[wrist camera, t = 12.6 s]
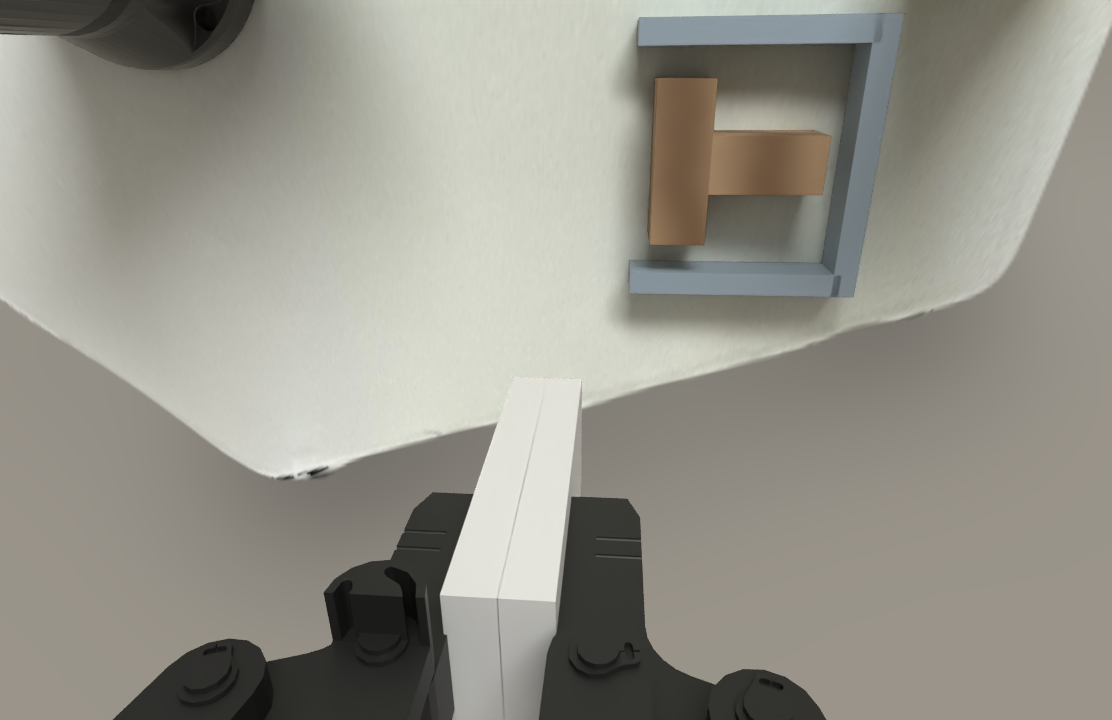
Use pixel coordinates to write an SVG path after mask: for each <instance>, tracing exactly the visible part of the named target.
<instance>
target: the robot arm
mask: <svg viewBox="0 0 1112 720" xmlns="http://www.w3.org/2000/svg"><path fill="white" fill-rule="evenodd" d="M253 1H254V0H0V34H12V35H54V36H59V37H61V38H63V39H65V40H67V41H69V42H71V43H73V44H75V45H77V46H79V47H81V48H83V49H85V50H87V51H89V52H91V53H93V54H95V55H97V56H99V57H101V58H104V59H106V60H108V61H111V62H114V63H117V64H120V65H124V66H128V67H133V68H138V69H146V70H174V69H184V68H189V67H193V66H196V65H199V64H202V63H204V62H206V61H209V60H210V59H212V58H214V57H215V56H217V55H218V54H220V53H221V52H222V51H223V50H224V49H226V48H227V47H228V46H229V45H230V44H231V43H232V42H233V40H234V39H235V38H236V37H237V35H238V34H239V32H240V31H241V29H242V28H243V26H244V24H245V22H246V20H247V18H248V16H249V13H250V11H251V8H252V5H253ZM581 408H582V379H560V378H525V377H513V379H512V382H511V385H510V388H509V391H508V394H507V397H506V400H505V403H504V406H503V409H502V412H501V415H500V418H499V421H498V424H497V427H496V430H495V433H494V436H493V439H492V442H491V445H490V448H489V451H488V454H487V457H486V459H485V462H484V465H483V468H482V471H481V474H480V477H479V480H478V483H477V486H476V489H475V492H474V494H457V493H432V494H430V495H429V497H427V498H426V499H425V500H424V501H423V502H421V503H420V504H419V505H418V506H417V507H416V508H415V509H414V510H413V512H412V514H411V516H410V518H409V521H408V523H407V525H406V527H405V532H404V533H403V534H402V536H401V538H400V540H399V542H398V545H397V550H395V551H394V553H393V555H392V558H391V560H384V561H372V562H368V563H365V564H362V565H359V566H356V567H354V568H351V569H349V570H348V571H346V572H345V573H343V574H342V575H340V576H339V577H337V578H336V579H335V580H334V581H333V582H332V583H331V584H330V585H329V587H328V588H327V589H326V590H325V592H324V596H325V602H326V606H327V612H328V617H329V622H330V627H331V633H332V638H333V642H332V644H331V645H329V646H327V647H325V648H323V649H320V650H317V651H314V652H310V653H307V654H302V655H298V656H293V657H288V658H283V659H278V660H273V661H268V662H266V660H265V658H264V656H263V653H262V651H261V649H260V648H259V647H258V646H256V645H254V644H252V643H251V642H249V641H247V640H237V639H226V640H221V641H216V642H211V643H207V644H205V645H203V646H200V647H198V648H196V649H194V650H191V651H189V652H187V653H186V654H184V655H183V656H182V657H180V658H179V659H178V660H177V661H175V662H174V663H172V664H171V665H170V666H169V667H167V668H166V669H165V670H164V671H163V672H162V673H161V674H160V675H159V676H158V677H157V678H156V679H155V680H154V681H153V682H152V683H151V684H150V685H149V686H147V687H146V688H145V689H144V690H143V691H142V692H141V693H140V694H139V695H138V696H137V697H136V698H135V699H134V700H133V701H132V702H131V703H130V704H129V705H128V706H127V707H126V708H124V709H123V711H121V712H120V713H119V714H118V715H117V716H116V717H115V718H114V719H113V720H452V718H453V720H826V719H825V717H824V715H823V713H822V712H821V710H820V708H819V707H818V706H817V704H816V703H815V702H814V701H813V700H812V698H811V697H810V696H809V695H808V694H807V692H806V691H805V690H804V689H802V688H801V687H799V686H798V685H796V684H795V683H793V682H792V681H790V680H789V679H788V678H786V677H783V676H781V675H778V674H775V673H772V672H769V671H766V670H751V669H742V670H740V671H737V672H734V673H731V674H728V675H725V676H724V677H723V678H722V679H721V680H720V681H719V682H718V683H717V684H716V685H714V684H712V683H709V682H705V681H703V680H700V679H697V678H695V677H692V676H689V675H687V674H685V673H683V672H681V671H679V670H676V669H675V668H673V667H672V666H671V665H669V664H668V663H667V662H665V661H664V660H663V659H662V658H661V657H660V656H659V655H658V654H657V653H656V651H655V650H654V649H653V647H652V645H651V644H650V642H649V640H648V638H647V634H646V628H645V615H644V594H643V572H642V551H641V530H640V517H639V515H638V514H637V513H636V511H635V509H634V508H633V506H632V505H631V504H630V502H629V501H628V499H618V498H594V497H580V489H581Z"/></svg>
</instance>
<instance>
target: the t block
mask: <svg viewBox="0 0 1112 720" xmlns="http://www.w3.org/2000/svg"><path fill="white" fill-rule="evenodd" d="M717 82H718V79H717V78H711V77H691V78H655V82H654V103H653V125H652V147H651V168H650V190H649V211H648V236H649V242H650V245H704V241H705V229H706V217H707V205H708V195H823V189H824V182H825V175H826V169H827V162H828V156H829V149H830V142H831V136H829V135H826V134H823V133H820V132H817V131H815V130H714V119H715V107H716V95H717Z"/></svg>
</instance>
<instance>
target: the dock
mask: <svg viewBox="0 0 1112 720" xmlns="http://www.w3.org/2000/svg"><path fill="white" fill-rule="evenodd" d="M903 19H904V13H880V14H818V15H757V16H695V17H639V20H638V39H637V47H657V46H736V45H814V44H856V46H855V52H854V58H853V65H852V71H851V78H850V84H849V91H848V97H847V103H846V110H845V116H844V123H843V129H842V135H841V142H840V148H839V155H838V161H837V167H836V174H835V180H834V187H833V193H832V200H831V206H830V212H829V219H828V225H827V232H826V238H825V244H824V251H823V257H822V263H777V262H703V261H630V262H629V293H640V294H697V295H754V296H811V297H854V292H855V286H856V280H857V275H858V269H859V264H860V258H861V253H862V247H863V241H864V236H865V230H866V225H867V219H868V214H869V208H870V203H871V197H872V191H873V186H874V180H875V175H876V169H877V164H878V158H879V152H880V147H881V141H882V136H883V130H884V125H885V119H886V113H887V108H888V102H889V97H890V91H891V86H892V80H893V75H894V69H895V63H896V58H897V52H898V47H899V41H900V36H901V30H902V24H903Z"/></svg>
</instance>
